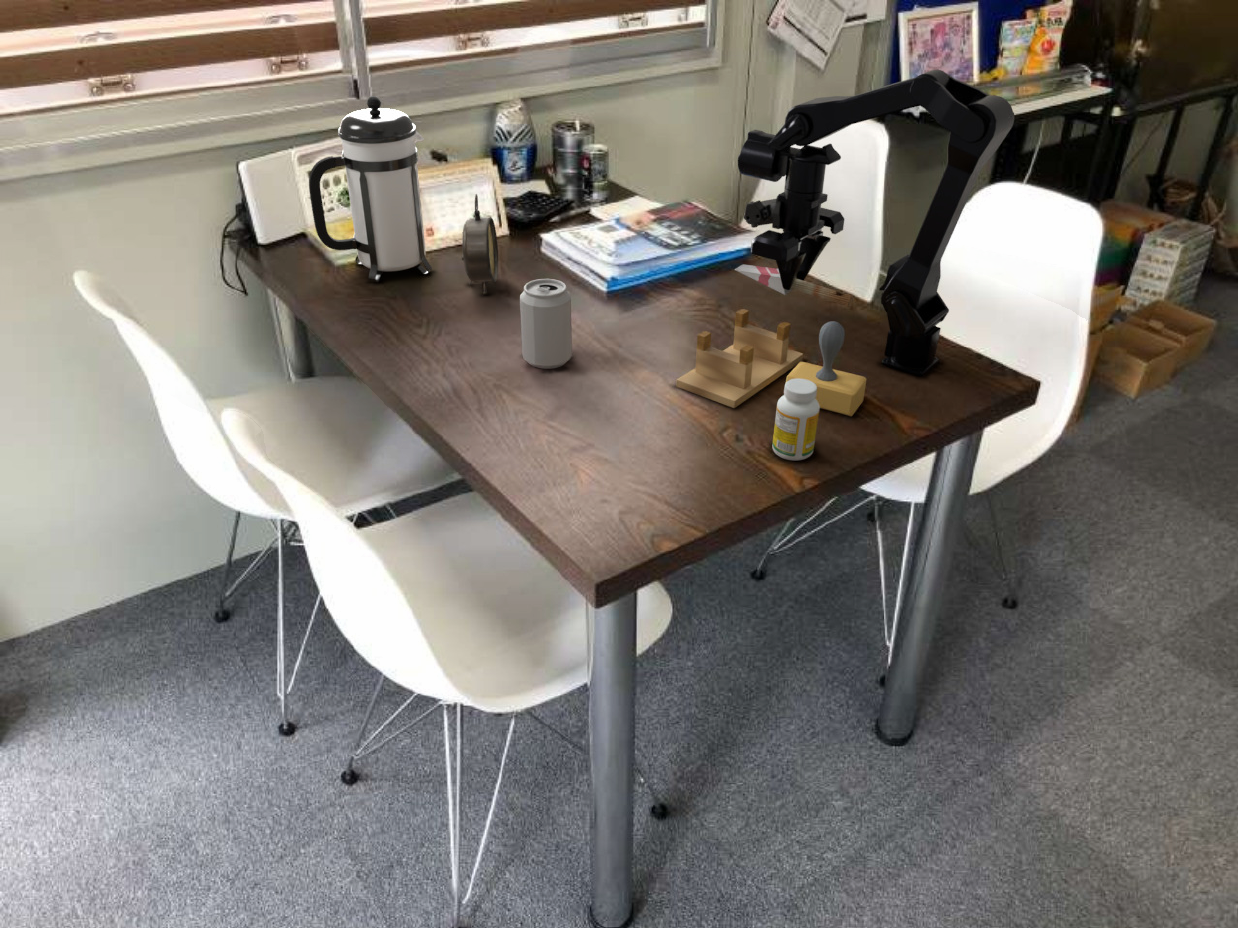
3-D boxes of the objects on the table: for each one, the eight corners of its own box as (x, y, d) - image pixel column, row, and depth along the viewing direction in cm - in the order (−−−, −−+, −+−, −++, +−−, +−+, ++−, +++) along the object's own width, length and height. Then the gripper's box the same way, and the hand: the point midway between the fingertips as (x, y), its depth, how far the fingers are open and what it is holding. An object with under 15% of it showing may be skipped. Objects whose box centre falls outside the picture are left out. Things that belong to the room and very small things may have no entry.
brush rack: (802, 360, 153) (808, 317, 149) (734, 408, 140) (738, 362, 136) (746, 342, 158) (750, 299, 154) (676, 386, 145) (678, 341, 142)
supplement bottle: (777, 462, 129) (784, 396, 123) (767, 440, 133) (774, 376, 128) (818, 460, 129) (827, 395, 124) (807, 439, 134) (816, 374, 128)
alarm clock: (493, 298, 171) (487, 205, 163) (462, 297, 172) (454, 204, 163) (500, 273, 181) (495, 184, 172) (470, 273, 181) (464, 183, 172)
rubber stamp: (783, 399, 142) (791, 322, 136) (797, 383, 147) (806, 307, 140) (850, 417, 138) (863, 338, 132) (863, 399, 143) (876, 322, 136)
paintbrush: (745, 255, 165) (857, 289, 155) (743, 270, 166) (854, 305, 157) (733, 261, 162) (846, 297, 153) (731, 277, 163) (843, 314, 154)
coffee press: (378, 247, 191) (357, 82, 174) (450, 260, 186) (436, 91, 169) (320, 280, 177) (292, 104, 161) (397, 295, 172) (376, 115, 156)
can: (580, 354, 154) (579, 281, 147) (557, 375, 148) (555, 299, 142) (537, 345, 156) (535, 272, 150) (513, 365, 151) (509, 290, 144)
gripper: (788, 164, 161) (779, 256, 170) (724, 192, 149) (717, 290, 158) (851, 177, 156) (838, 272, 164) (789, 208, 143) (779, 309, 152)
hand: (793, 285), depth 160 cm, fingers closed on paintbrush, 4 cm apart
